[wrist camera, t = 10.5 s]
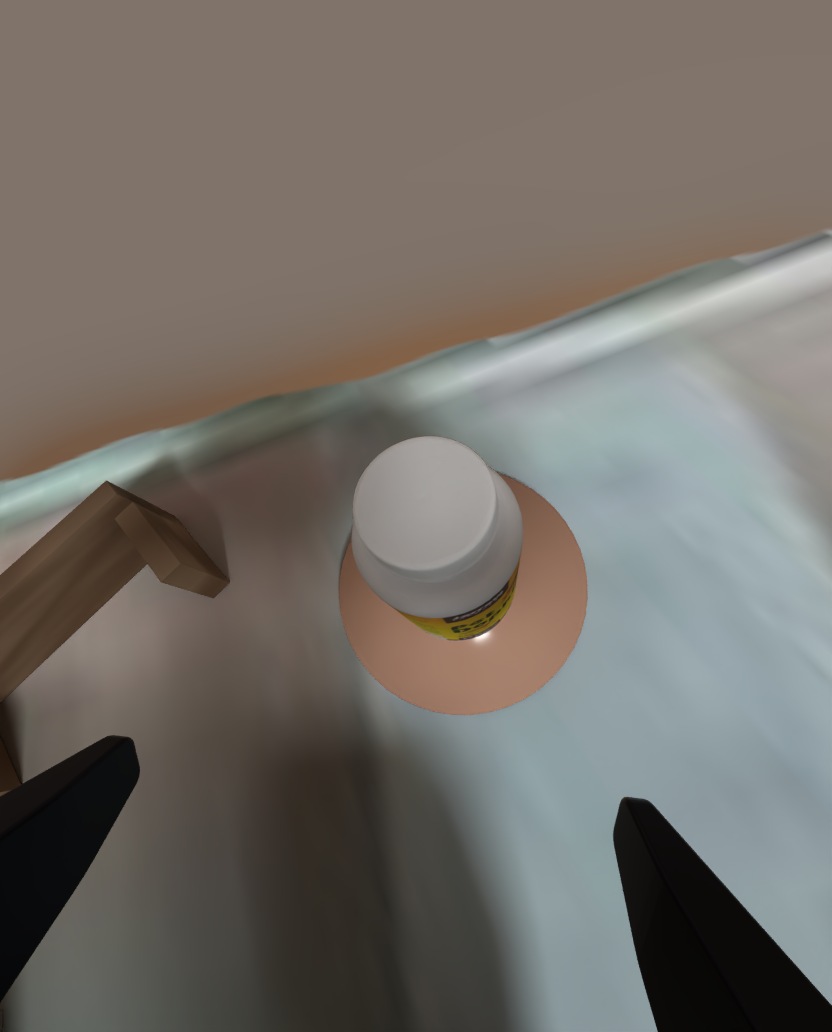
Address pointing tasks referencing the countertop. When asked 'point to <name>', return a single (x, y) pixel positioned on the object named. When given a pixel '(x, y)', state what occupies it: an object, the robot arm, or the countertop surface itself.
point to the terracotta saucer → (494, 655)
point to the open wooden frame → (88, 580)
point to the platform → (1, 1020)
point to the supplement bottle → (438, 536)
